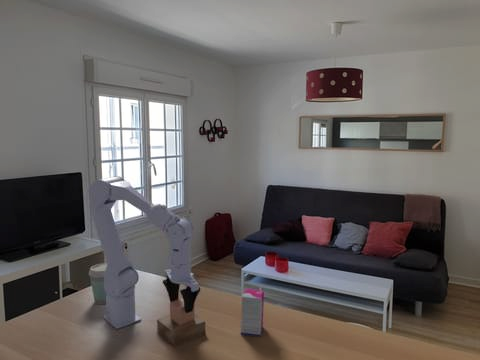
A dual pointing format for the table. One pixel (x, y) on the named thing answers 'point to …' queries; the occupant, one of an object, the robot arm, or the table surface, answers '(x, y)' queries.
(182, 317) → the terracotta cube
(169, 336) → the walnut block
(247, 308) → the supplement box
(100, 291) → the coffee cup
